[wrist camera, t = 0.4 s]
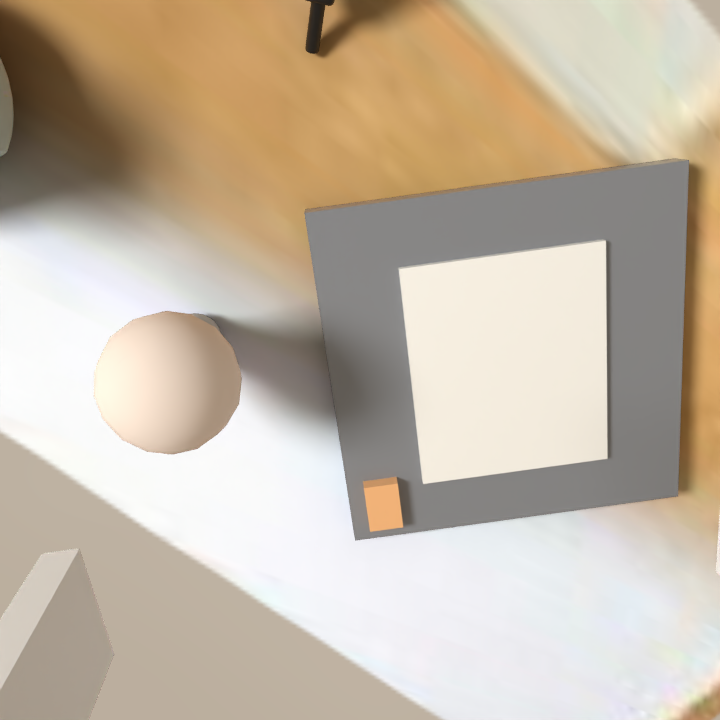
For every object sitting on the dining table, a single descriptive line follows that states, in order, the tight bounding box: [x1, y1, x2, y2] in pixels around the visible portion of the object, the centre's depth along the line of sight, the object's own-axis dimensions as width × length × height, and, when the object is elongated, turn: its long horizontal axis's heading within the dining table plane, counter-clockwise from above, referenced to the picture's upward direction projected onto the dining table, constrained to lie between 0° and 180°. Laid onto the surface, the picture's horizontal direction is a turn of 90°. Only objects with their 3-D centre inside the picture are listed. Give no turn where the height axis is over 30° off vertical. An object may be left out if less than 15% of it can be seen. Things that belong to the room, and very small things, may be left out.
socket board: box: [305, 159, 689, 540], centre depth 39 cm, size 20×20×2 cm
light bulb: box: [94, 311, 242, 454], centre depth 33 cm, size 7×7×11 cm
